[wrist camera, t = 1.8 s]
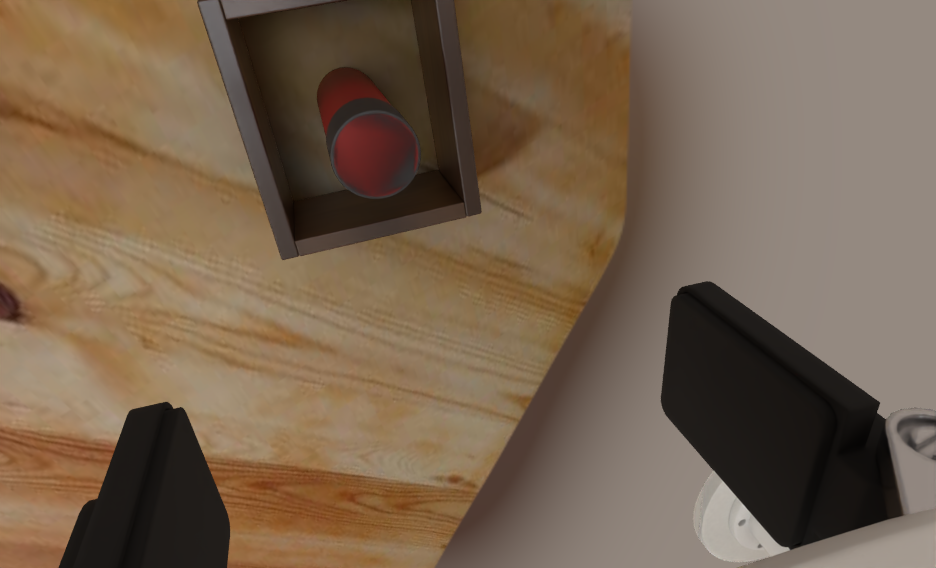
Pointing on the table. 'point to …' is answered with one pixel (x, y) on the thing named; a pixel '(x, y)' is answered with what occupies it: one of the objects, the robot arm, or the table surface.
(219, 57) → the wooden box
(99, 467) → the table surface
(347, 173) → the marker pen
